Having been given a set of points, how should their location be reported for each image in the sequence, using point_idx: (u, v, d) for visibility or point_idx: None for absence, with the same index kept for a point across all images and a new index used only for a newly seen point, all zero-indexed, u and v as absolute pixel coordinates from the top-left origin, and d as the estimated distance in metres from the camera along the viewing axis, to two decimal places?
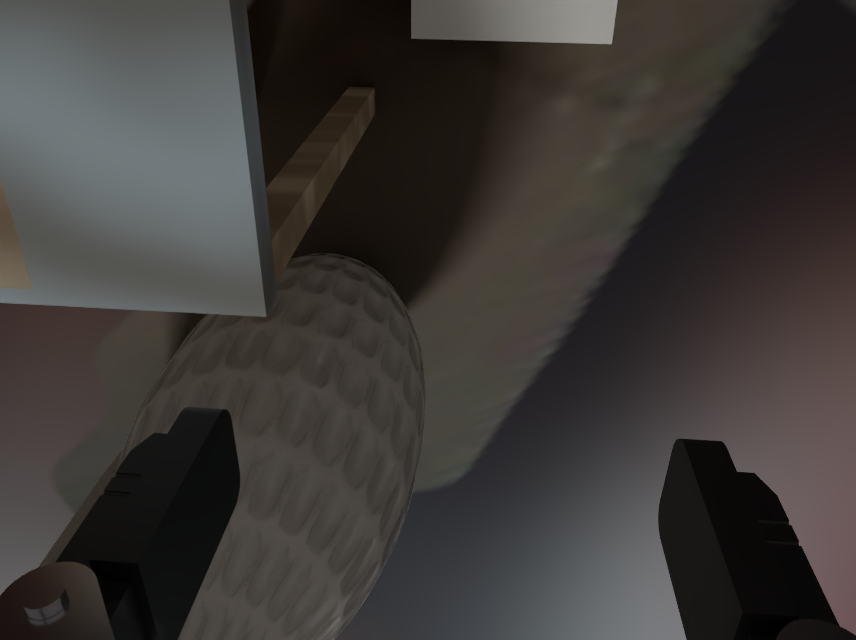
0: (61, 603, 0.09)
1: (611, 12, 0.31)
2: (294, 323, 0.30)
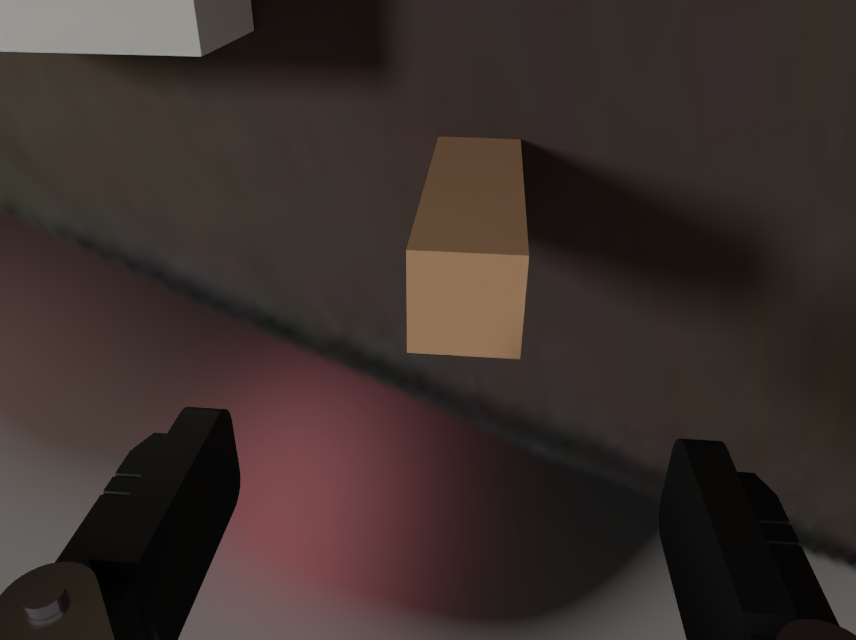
0: (62, 603, 0.09)
1: None
2: None
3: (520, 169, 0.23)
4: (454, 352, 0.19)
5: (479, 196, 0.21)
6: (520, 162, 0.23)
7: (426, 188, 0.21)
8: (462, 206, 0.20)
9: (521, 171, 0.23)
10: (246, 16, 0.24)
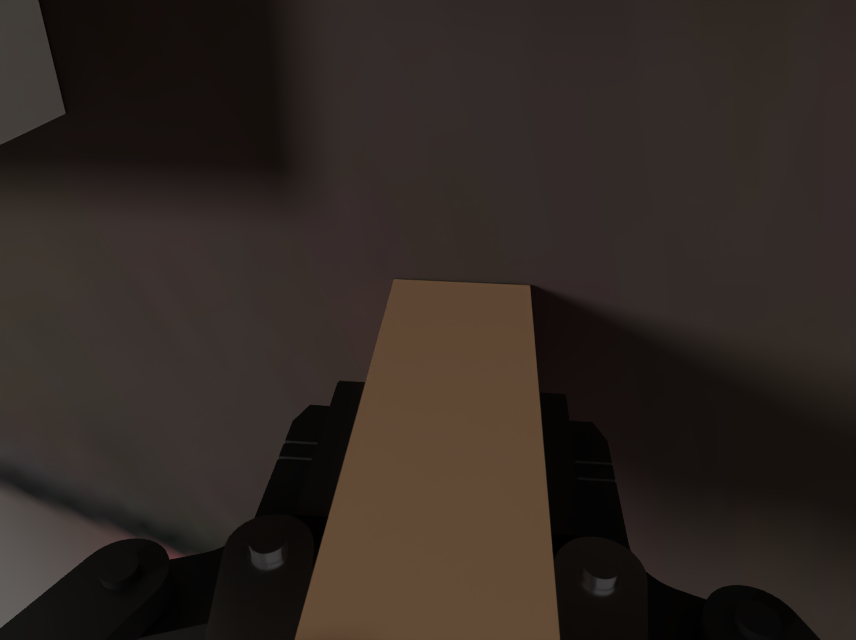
0: (279, 555, 0.09)
1: None
2: None
3: (533, 374, 0.13)
4: None
5: (456, 472, 0.10)
6: (532, 352, 0.13)
7: (354, 443, 0.11)
8: (419, 512, 0.10)
9: (535, 381, 0.12)
10: (40, 94, 0.14)
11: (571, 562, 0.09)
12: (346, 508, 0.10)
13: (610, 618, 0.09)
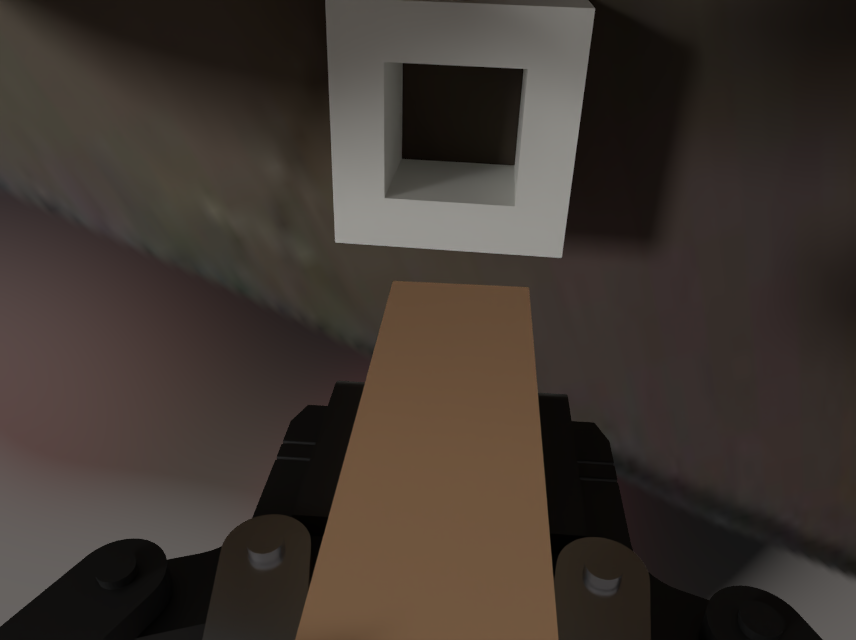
0: (276, 556, 0.09)
1: (367, 240, 0.28)
2: None
3: (532, 377, 0.13)
4: None
5: (455, 475, 0.10)
6: (531, 354, 0.13)
7: (353, 446, 0.11)
8: (418, 515, 0.10)
9: (534, 383, 0.12)
10: None
11: (573, 563, 0.09)
12: (345, 511, 0.10)
13: (612, 619, 0.09)
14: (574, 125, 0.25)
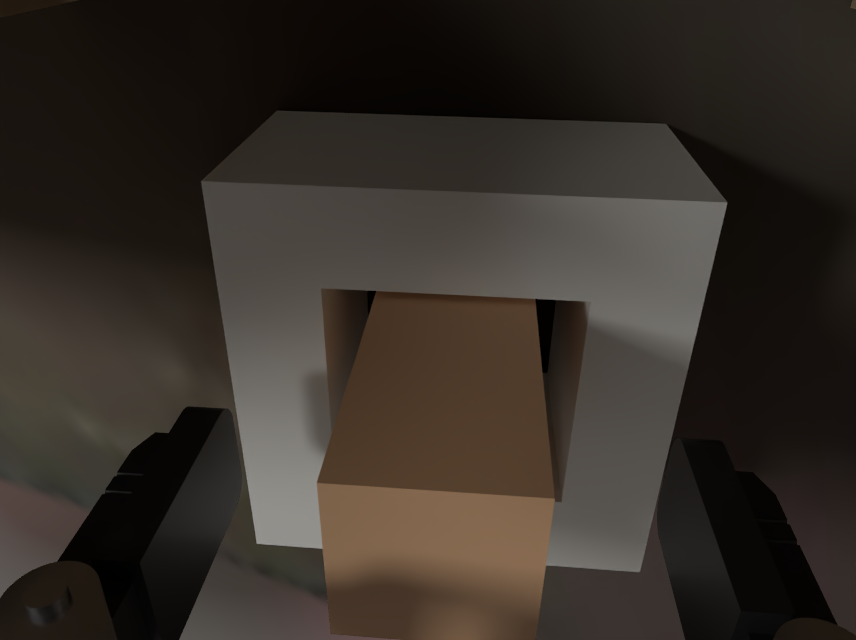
0: (65, 602, 0.09)
1: (310, 541, 0.17)
2: None
3: None
4: (415, 637, 0.10)
5: (462, 330, 0.12)
6: None
7: (374, 311, 0.13)
8: (432, 355, 0.12)
9: None
10: None
11: None
12: (370, 352, 0.12)
13: None
14: (673, 389, 0.14)
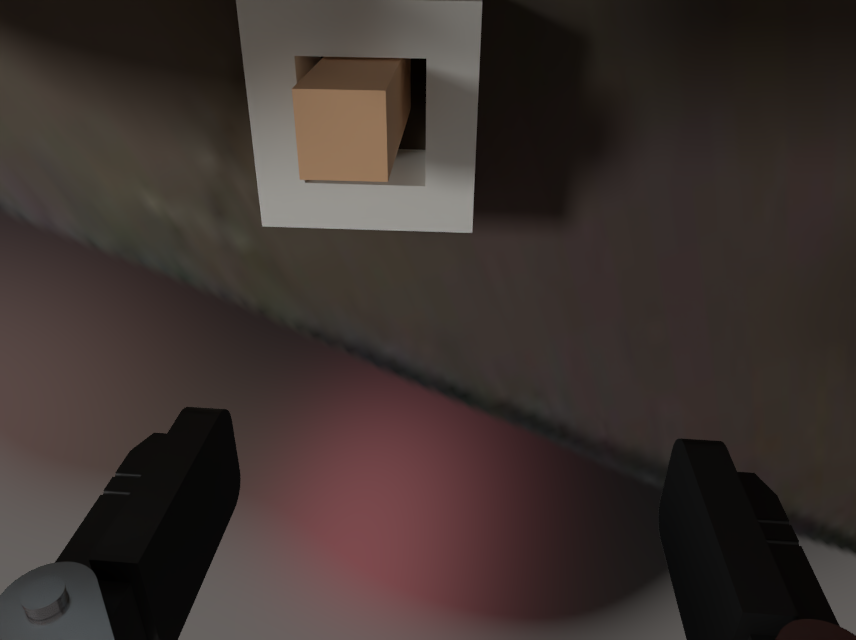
0: (61, 603, 0.09)
1: (291, 223, 0.30)
2: None
3: None
4: (336, 177, 0.24)
5: (361, 65, 0.26)
6: None
7: (320, 62, 0.26)
8: (345, 70, 0.25)
9: None
10: None
11: None
12: (317, 69, 0.25)
13: None
14: (473, 109, 0.27)
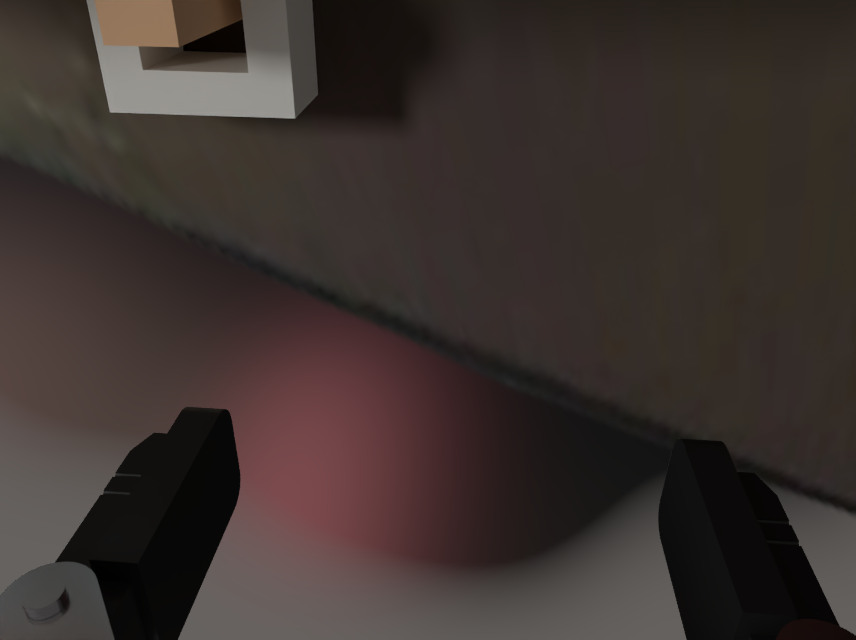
0: (61, 603, 0.09)
1: (135, 109, 0.34)
2: None
3: None
4: (134, 43, 0.27)
5: None
6: None
7: None
8: None
9: None
10: (314, 86, 0.37)
11: None
12: None
13: None
14: None
